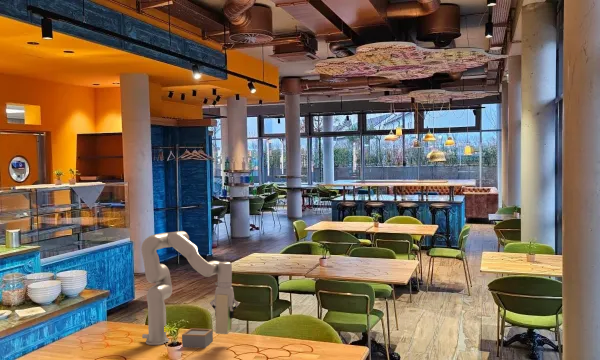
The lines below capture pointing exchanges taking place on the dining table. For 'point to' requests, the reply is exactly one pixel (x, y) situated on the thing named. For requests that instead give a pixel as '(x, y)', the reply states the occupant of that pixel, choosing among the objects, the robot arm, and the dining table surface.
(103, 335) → the dining table surface
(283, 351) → the dining table surface
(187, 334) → the grey open box
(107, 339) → the dining table surface
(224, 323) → the toy refrigerator
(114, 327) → the dining table surface
